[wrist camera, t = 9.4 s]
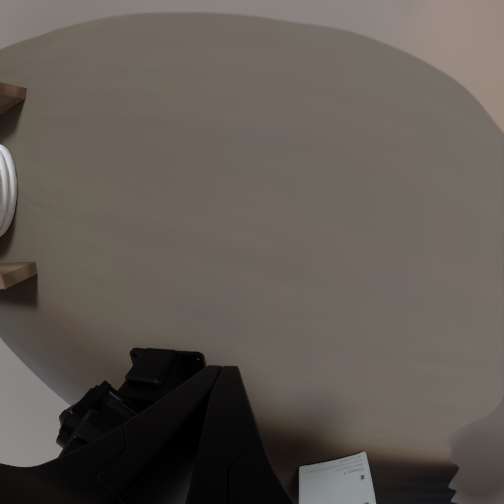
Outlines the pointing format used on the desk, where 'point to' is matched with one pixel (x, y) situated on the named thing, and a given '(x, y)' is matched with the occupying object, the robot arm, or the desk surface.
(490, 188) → the desk surface
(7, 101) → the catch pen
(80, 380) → the desk surface
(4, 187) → the coaster
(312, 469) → the supplement box
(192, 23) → the desk surface
